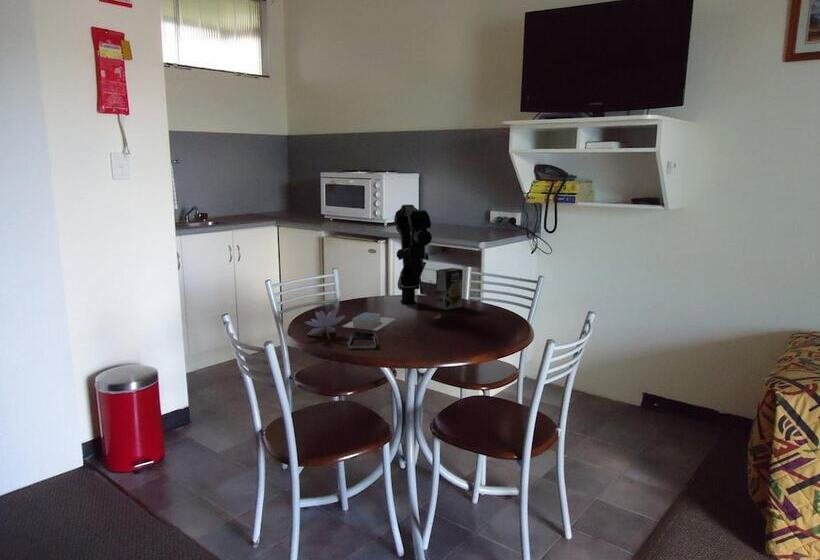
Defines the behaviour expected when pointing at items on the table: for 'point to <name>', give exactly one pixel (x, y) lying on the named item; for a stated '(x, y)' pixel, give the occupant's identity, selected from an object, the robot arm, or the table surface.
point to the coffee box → (449, 288)
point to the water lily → (324, 322)
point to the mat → (376, 327)
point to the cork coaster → (437, 316)
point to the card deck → (366, 320)
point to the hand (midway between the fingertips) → (417, 280)
